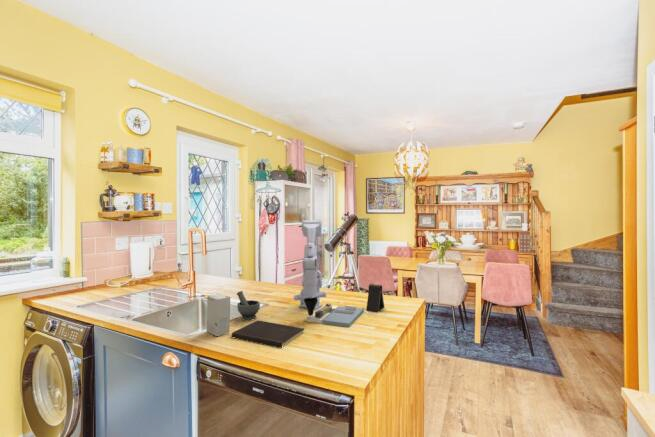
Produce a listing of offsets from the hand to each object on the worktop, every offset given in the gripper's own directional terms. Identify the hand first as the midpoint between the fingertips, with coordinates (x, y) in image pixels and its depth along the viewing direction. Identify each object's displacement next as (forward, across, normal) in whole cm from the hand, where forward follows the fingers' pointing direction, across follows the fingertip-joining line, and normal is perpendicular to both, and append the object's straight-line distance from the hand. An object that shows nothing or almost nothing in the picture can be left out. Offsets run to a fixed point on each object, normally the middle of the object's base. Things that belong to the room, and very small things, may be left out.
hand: (310, 314), depth 141 cm
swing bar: (0, +7, +1) cm, 7 cm away
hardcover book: (+3, -21, -10) cm, 23 cm away
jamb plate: (+2, +8, +4) cm, 9 cm away
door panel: (+2, +15, -3) cm, 16 cm away
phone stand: (+3, +35, +2) cm, 35 cm away
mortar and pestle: (+2, -25, +14) cm, 29 cm away
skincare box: (+2, -39, +1) cm, 39 cm away
